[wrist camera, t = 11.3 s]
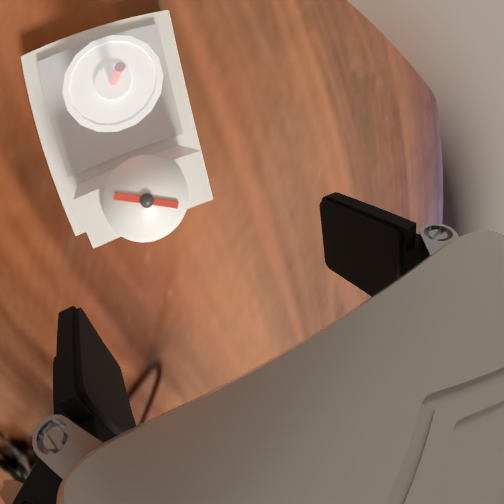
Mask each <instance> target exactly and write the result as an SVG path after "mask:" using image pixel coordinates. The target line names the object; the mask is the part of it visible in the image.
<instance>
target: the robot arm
mask: <svg viewBox="0 0 504 504" xmlns="http://www.w3.org/2000/svg"><path fill="white" fill-rule="evenodd" d="M320 215H321V224H322V233H323V243H324V254H325V262H326V265H327V266H328V268H329V269H331V270H332V271H334V272H335V273H337V274H339V275H340V276H342V277H343V278H345V279H346V280H348V281H349V282H351V283H352V284H354V285H355V286H357V287H358V288H360V289H361V290H363V291H364V292H366V293H367V294H369V295H370V296H372V297H371V298H369V299H368V300H366V301H365V302H363V303H362V304H360V305H359V306H357V307H356V308H354V309H353V310H351V311H350V312H348V313H347V314H345V315H344V316H342V317H340V318H339V319H337V320H336V321H334V322H333V323H331V324H329V325H328V326H326V327H325V328H323V329H321V330H320V331H318V332H316V333H315V334H313V335H312V336H310V337H308V338H307V339H305V340H303V341H302V342H300V343H298V344H296V345H295V346H293V347H291V348H290V349H288V350H286V351H284V352H283V353H281V354H279V355H277V356H276V357H274V358H272V359H270V360H269V361H267V362H265V363H263V364H261V365H260V366H258V367H256V368H254V369H252V370H250V371H249V372H247V373H245V374H243V375H241V376H239V377H237V378H235V379H234V380H232V381H230V382H228V383H226V384H224V385H222V386H220V387H218V388H216V389H214V390H212V391H210V392H208V393H206V394H204V395H202V396H200V397H198V398H196V399H194V400H191V401H189V402H187V403H185V404H183V405H181V406H179V407H177V408H175V409H172V410H170V411H168V412H166V413H164V414H162V415H159V416H157V417H155V418H153V419H151V420H149V421H147V422H145V423H143V424H140V425H138V426H136V424H135V421H134V417H133V414H132V410H131V407H130V403H129V400H128V396H127V392H126V388H125V384H124V380H123V376H122V372H121V369H120V367H119V365H118V363H117V361H116V360H115V359H114V357H113V356H112V354H111V353H110V351H109V350H108V348H107V347H106V345H105V344H104V343H103V341H102V340H101V338H100V336H99V335H98V333H97V332H96V330H95V329H94V327H93V326H92V324H91V322H90V321H89V319H88V318H87V316H86V314H85V313H84V311H83V310H82V308H78V309H76V308H75V307H74V306H72V307H70V308H68V309H65V310H63V311H61V312H59V317H58V332H57V356H56V357H55V358H54V361H53V402H54V415H51V416H48V417H47V418H45V419H44V420H42V421H41V423H40V424H39V425H38V426H37V428H36V430H35V432H34V435H33V443H32V444H33V448H34V451H35V453H36V454H37V456H38V457H39V460H38V461H37V463H36V464H35V466H34V468H33V469H32V471H31V473H30V474H29V476H28V478H27V479H26V481H25V483H24V484H23V486H22V488H21V490H20V491H19V493H18V495H17V496H16V498H15V500H14V502H13V504H504V235H502V234H499V233H497V232H493V231H489V230H486V231H485V230H484V231H476V232H472V233H469V234H465V235H463V236H461V237H459V236H458V235H457V233H456V232H455V231H454V230H453V229H452V228H451V227H449V226H446V225H443V224H436V223H432V224H427V225H424V226H423V227H422V228H421V229H420V235H419V234H417V233H416V223H415V222H412V221H410V220H407V219H405V218H402V217H400V216H398V215H395V214H393V213H390V212H388V211H385V210H382V209H380V208H377V207H375V206H372V205H370V204H367V203H364V202H362V201H359V200H356V199H354V198H351V197H348V196H345V195H343V194H340V193H336V192H335V193H332V194H330V195H327V196H325V197H323V198H322V202H321V203H320Z"/></svg>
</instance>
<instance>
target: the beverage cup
mask: <svg viewBox="0 0 504 504" xmlns="http://www.w3.org/2000/svg"><path fill="white" fill-rule="evenodd" d="M163 76H164V75H163V71H162V67H161V64H160V60H159V57H158V56H157V55H156V54H155V52H154V51H153V50H152V49H151V48H150V46H149V45H148V44H147V43H145V42H143V41H140V40H138V39H136V38H134V37H132V36H124V35H110V36H107V37H104V38H101V39H98V40H95V41H92V42H91V43H89V44H88V45H87V46H86V47H84V48H83V49H82V50H81V51H80V52H78V53H77V54H76V55H75V56H74V58H73V60H72V62H71V63H70V65H69V67H68V69H67V70H66V72H65V76H64V83H63V91H62V94H63V97H64V100H65V104H66V107H67V110H68V112H69V113H70V114H71V115H72V116H73V117H74V119H75V120H76V121H77V122H78V123H79V124H80V125H82V126H84V127H87V128H89V129H92V130H94V131H96V132H118V131H121V130H123V129H126V128H128V127H131V126H133V125H136V124H137V123H138V122H139V121H141V120H142V119H143V118H144V117H145V116H146V115H147V114H149V113H150V112H151V111H152V109H153V107H154V106H155V104H156V102H157V100H158V98H159V97H160V95H161V90H162V83H163Z"/></svg>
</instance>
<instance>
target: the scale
mask: <svg viewBox="0 0 504 504" xmlns="http://www.w3.org/2000/svg"><path fill="white" fill-rule="evenodd" d="M110 35H124V36H132V37H134V38H136V39H138V40H140V41H143V42H145V43H147V44H148V45H149V46H150V48H151V49H152V50H153V51H154V52H155V54H156V55H157V56H158V57H159V60H160V64H161V67H162V71H163V75H164V76H163V83H162V90H161V95H160V97H159V98H158V100H157V102H156V104H155V106H154V107H153V109H152V111H151V112H150V113H149V114H147V115H146V116H145V117H144V118H143V119H142V120H141V121H139V122H138V123H137V124H136V125H133V126H131V127H128V128H126V129H123V130H121V131H118V132H96V131H94V130H92V129H89V128H87V127H84V126H82V125H80V124H79V123H78V122H77V121H76V120H75V119H74V117H73V116H72V115H71V114H70V113H69V112H68V110H67V107H66V104H65V100H64V97H63V94H62V91H63V83H64V76H65V72H66V70H67V69H68V67H69V65H70V63H71V62H72V60H73V58H74V56H75V55H76V54H77V53H78V52H80V51H81V50H82V49H83V48H84V47H86V46H87V45H88V44H89V43H91V42H92V41H95V40H98V39H101V38H104V37H107V36H110ZM21 61H22V67H23V72H24V77H25V82H26V87H27V91H28V96H29V100H30V104H31V108H32V112H33V116H34V120H35V123H36V127H37V131H38V134H39V138H40V141H41V144H42V147H43V151H44V154H45V157H46V160H47V163H48V166H49V169H50V172H51V175H52V178H53V180H54V183H55V186H56V189H57V191H58V194H59V197H60V199H61V202H62V204H63V207H64V209H65V212H66V214H67V217H68V219H69V222H70V224H71V226H72V229H73V231H74V233H75V235H76V236H78V235H80V234H82V233H84V232H86V233H87V235H88V237H89V240H90V242H91V244H92V246H93V249H94V248H96V247H98V246H101V245H103V244H105V243H107V242H110V241H112V240H114V239H116V238H119V237H121V236H122V237H123V238H126V239H128V240H131V241H135V242H151V241H155V240H158V239H161V238H163V237H165V236H166V235H168V234H169V233H171V232H172V231H173V230H174V229H175V228H176V227H177V226H178V225H179V223H180V222H181V220H182V219H183V217H184V215H185V213H186V210H187V209H189V208H192V207H194V206H197V205H199V204H202V203H205V202H207V201H210V200H212V199H213V196H212V192H211V189H210V185H209V180H208V176H207V172H206V168H205V164H204V160H203V156H202V152H201V148H200V144H199V140H198V135H197V131H196V127H195V123H194V119H193V115H192V111H191V106H190V102H189V98H188V94H187V89H186V85H185V81H184V76H183V72H182V68H181V63H180V59H179V55H178V50H177V46H176V41H175V37H174V32H173V27H172V23H171V18H170V14H169V10H165V11H159V12H154V13H149V14H144V15H140V16H135V17H131V18H127V19H123V20H119V21H115V22H112V23H108V24H105V25H101V26H98V27H95V28H92V29H88V30H85V31H82V32H79V33H77V34H74V35H71V36H68V37H66V38H63V39H60V40H58V41H55V42H53V43H50V44H48V45H45V46H43V47H41V48H38V49H36V50H34V51H32V52H29V53H27V54H25V55H23V56H21Z"/></svg>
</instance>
